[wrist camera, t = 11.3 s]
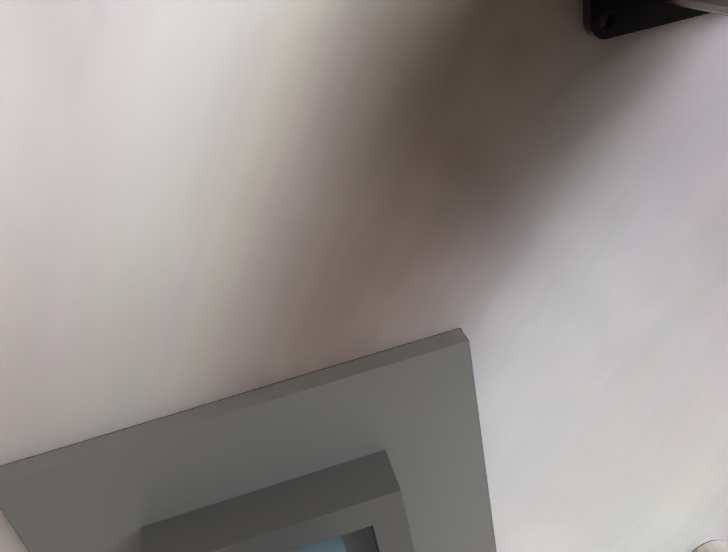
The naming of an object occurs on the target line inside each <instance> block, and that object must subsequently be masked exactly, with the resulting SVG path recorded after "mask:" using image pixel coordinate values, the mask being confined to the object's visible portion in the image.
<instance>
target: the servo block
mask: <svg viewBox="0 0 728 552" xmlns="http://www.w3.org/2000/svg"><path fill="white" fill-rule="evenodd" d="M294 552H347V550H346V546H345V543H344V540H343V536H339V537H336V538H333V539H330V540H327V541H324V542H321V543H318V544H315V545H312V546H309V547H306V548H303V549H300V550H297V551H294Z"/></svg>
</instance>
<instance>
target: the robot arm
mask: <svg viewBox="0 0 728 552" xmlns="http://www.w3.org/2000/svg"><path fill="white" fill-rule="evenodd" d="M605 12H607V16H608V18H607V22H606V23H605V25H604V26H603V27H601V28H600V26H599V19H600V17H601V15H602V14H603V13H605ZM707 13H717V14H722V15H728V0H583V23H584V28H585V30H586V32H587V33H588V34H589V35H591V36H593V37H595V38H599V39H609V38H613V37H617V36H621V35H625V34H628V33H632V32H636V31H640V30H644V29H648V28H652V27H656V26H660V25H664V24H668V23H672V22H676V21H680V20H683V19H687V18H691V17H695V16H699V15H703V14H707Z"/></svg>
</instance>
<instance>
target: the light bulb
mask: <svg viewBox="0 0 728 552" xmlns="http://www.w3.org/2000/svg"><path fill="white" fill-rule="evenodd" d="M694 552H728V544H727V543H725V542H724V541H720V540H715V541H710V542H708V543H705V544H703V545H701V546H700V547H698V548H697V549H696V550H695V551H694Z"/></svg>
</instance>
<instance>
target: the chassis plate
mask: <svg viewBox="0 0 728 552" xmlns="http://www.w3.org/2000/svg"><path fill="white" fill-rule="evenodd" d="M0 509H1V510H2V512H3V513H4V515H5V516H6V518H7V519H8V521H9V522H10V524H11V525H12V527H13V528H14V530H15V531H16V533H17V534H18V536H19V537H20V539H21V540H22V542H23V543H24V545H25V546H26V548H27V549H28V551H29V552H294V551H297V550H300V549H303V548H306V547H309V546H312V545H315V544H318V543H321V542H324V541H327V540H330V539H333V538H336V537H339V536H343V540H344V543H345V546H346V550H347V552H496V544H495V537H494V529H493V521H492V514H491V506H490V498H489V491H488V483H487V475H486V468H485V460H484V452H483V445H482V437H481V429H480V422H479V414H478V406H477V399H476V391H475V383H474V376H473V368H472V360H471V353H470V345H469V340H468V338H467V337H466V336H465V334H464V333H463V331H462V330H461V328H459V329H456V330H453V331H449V332H446V333H443V334H439V335H436V336H433V337H429V338H426V339H423V340H419V341H416V342H413V343H409V344H406V345H403V346H399V347H396V348H393V349H389V350H386V351H383V352H379V353H376V354H373V355H369V356H366V357H363V358H359V359H356V360H353V361H350V362H346V363H343V364H340V365H336V366H333V367H330V368H326V369H323V370H320V371H316V372H313V373H310V374H306V375H303V376H300V377H296V378H293V379H290V380H286V381H283V382H280V383H276V384H273V385H270V386H266V387H263V388H260V389H256V390H253V391H250V392H246V393H243V394H240V395H236V396H233V397H230V398H226V399H223V400H220V401H216V402H213V403H210V404H206V405H203V406H200V407H196V408H193V409H190V410H186V411H183V412H180V413H176V414H173V415H170V416H166V417H163V418H160V419H156V420H153V421H150V422H146V423H143V424H140V425H136V426H133V427H130V428H126V429H123V430H120V431H116V432H113V433H110V434H106V435H103V436H100V437H96V438H93V439H90V440H87V441H83V442H80V443H77V444H73V445H70V446H67V447H63V448H60V449H57V450H53V451H50V452H47V453H43V454H40V455H37V456H33V457H30V458H27V459H23V460H20V461H17V462H13V463H10V464H7V465H3V466H0Z"/></svg>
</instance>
